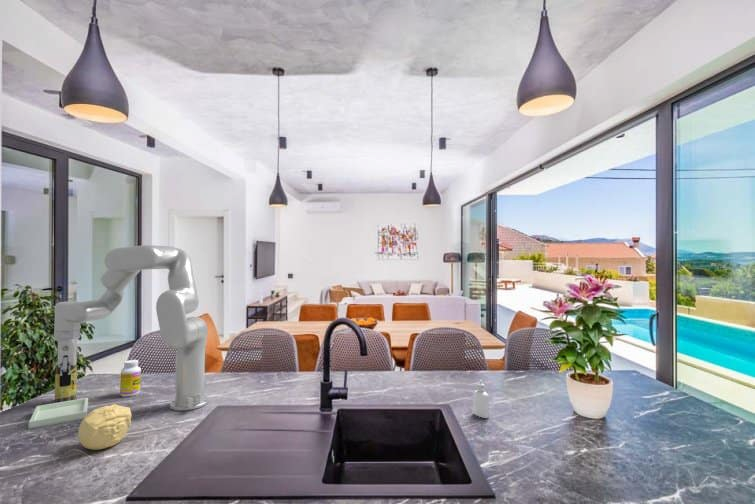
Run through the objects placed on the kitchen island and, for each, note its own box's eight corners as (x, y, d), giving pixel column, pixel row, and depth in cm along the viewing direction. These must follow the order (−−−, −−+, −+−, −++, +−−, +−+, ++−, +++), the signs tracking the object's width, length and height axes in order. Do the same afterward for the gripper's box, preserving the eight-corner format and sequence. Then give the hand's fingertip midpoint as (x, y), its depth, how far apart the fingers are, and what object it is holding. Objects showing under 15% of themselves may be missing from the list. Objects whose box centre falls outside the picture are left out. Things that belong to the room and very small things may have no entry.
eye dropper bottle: (484, 412, 130) (484, 377, 131) (490, 419, 125) (490, 382, 125) (472, 412, 130) (472, 377, 130) (477, 419, 124) (477, 382, 125)
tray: (86, 418, 124) (86, 411, 124) (28, 429, 115) (28, 422, 116) (88, 403, 137) (88, 397, 137) (36, 412, 128) (36, 406, 128)
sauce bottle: (75, 402, 138) (76, 347, 138) (53, 405, 135) (54, 350, 135) (77, 396, 143) (78, 344, 144) (56, 400, 140) (57, 346, 140)
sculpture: (89, 459, 98) (90, 417, 99) (70, 447, 105) (71, 408, 105) (136, 441, 108) (137, 403, 108) (116, 431, 114) (117, 395, 115)
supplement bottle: (132, 397, 143) (133, 363, 144) (115, 397, 143) (116, 363, 144) (144, 391, 150) (144, 359, 150) (127, 391, 150) (128, 359, 150)
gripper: (78, 337, 135) (77, 387, 134) (81, 330, 149) (80, 376, 148) (51, 339, 131) (49, 392, 130) (56, 332, 145) (55, 379, 144)
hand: (66, 383), depth 139 cm, fingers closed on sauce bottle, 6 cm apart
